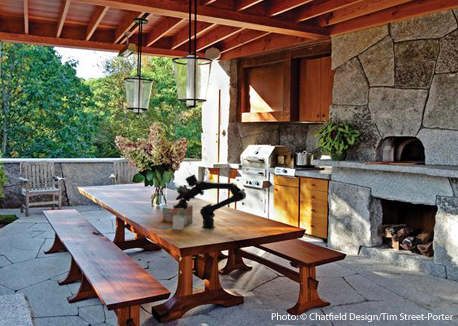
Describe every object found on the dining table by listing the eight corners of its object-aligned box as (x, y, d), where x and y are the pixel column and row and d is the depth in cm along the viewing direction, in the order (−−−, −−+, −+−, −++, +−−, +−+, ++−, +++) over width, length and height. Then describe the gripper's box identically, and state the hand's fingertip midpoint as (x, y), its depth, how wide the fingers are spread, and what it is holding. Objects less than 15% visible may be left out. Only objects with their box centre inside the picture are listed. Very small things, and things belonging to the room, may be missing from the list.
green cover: (187, 224, 283) (187, 215, 282) (181, 226, 277) (181, 217, 276) (178, 223, 286) (178, 214, 286) (172, 224, 280) (172, 216, 280)
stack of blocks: (162, 220, 294) (162, 203, 293) (168, 219, 299) (168, 201, 298) (187, 224, 283) (187, 206, 282) (192, 222, 288) (192, 205, 287)
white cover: (183, 227, 274) (184, 218, 273) (183, 229, 267) (183, 220, 266) (173, 226, 273) (174, 217, 273) (172, 229, 267) (173, 219, 266)
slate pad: (174, 227, 273) (174, 226, 273) (164, 230, 265) (164, 229, 265) (165, 225, 278) (165, 224, 278) (155, 227, 271) (155, 227, 271)
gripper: (186, 176, 281) (169, 187, 286) (183, 192, 265) (165, 204, 270) (197, 187, 285) (179, 198, 290) (194, 204, 269) (176, 215, 274)
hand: (175, 203), depth 281 cm, fingers open, 9 cm apart
